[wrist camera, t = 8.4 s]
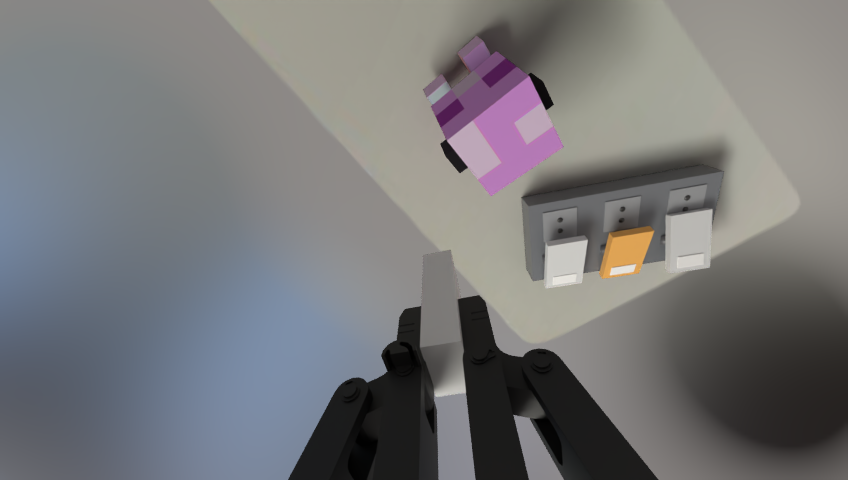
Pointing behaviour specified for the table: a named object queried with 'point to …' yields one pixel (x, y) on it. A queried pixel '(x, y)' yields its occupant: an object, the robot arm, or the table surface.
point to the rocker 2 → (625, 252)
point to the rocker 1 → (564, 261)
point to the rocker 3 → (688, 240)
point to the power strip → (615, 212)
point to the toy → (493, 118)
